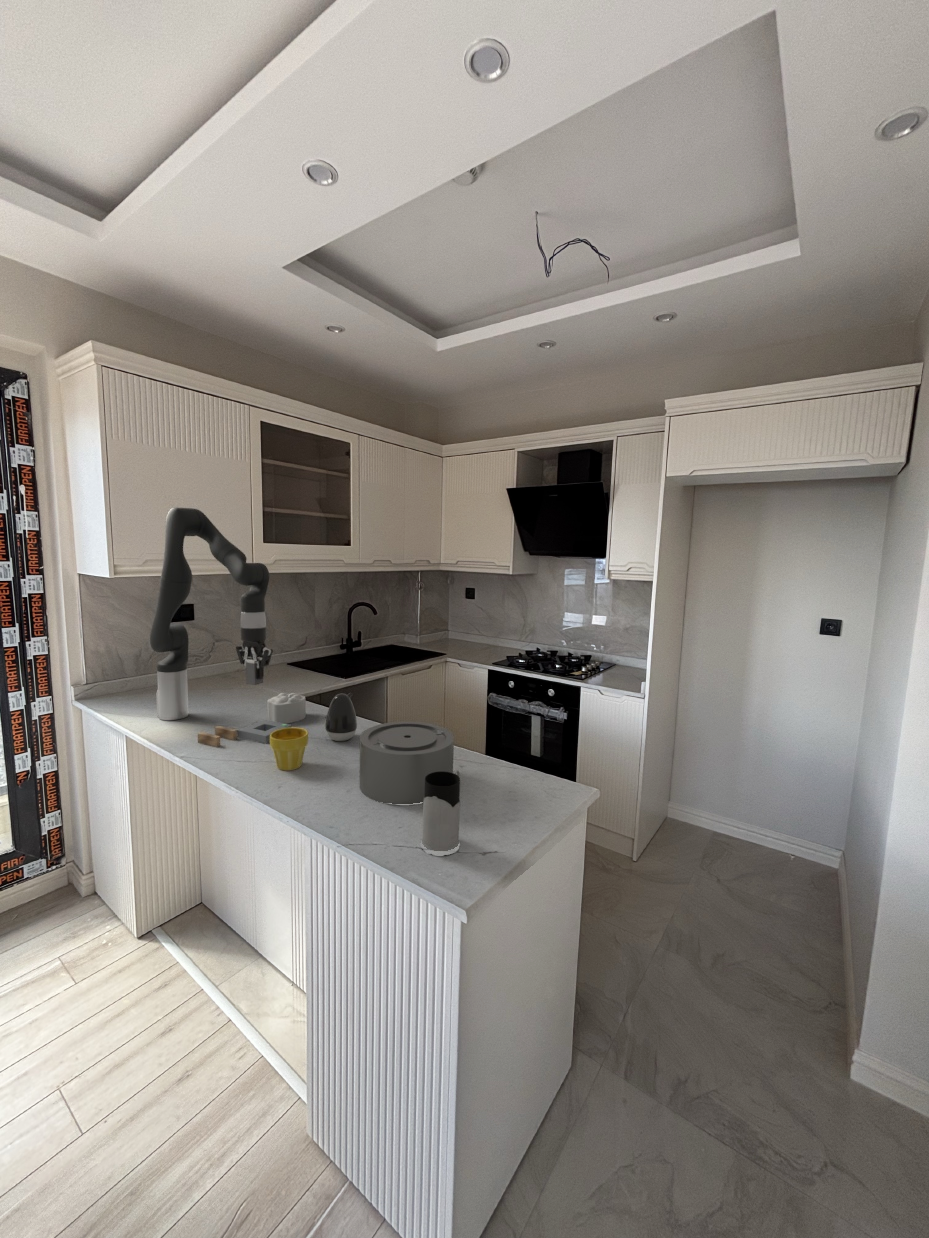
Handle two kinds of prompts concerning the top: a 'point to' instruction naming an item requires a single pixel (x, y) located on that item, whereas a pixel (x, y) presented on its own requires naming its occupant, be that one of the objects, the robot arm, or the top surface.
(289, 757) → the plant pot
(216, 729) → the pair of wooden planks
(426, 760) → the container
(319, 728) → the top surface
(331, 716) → the dark grey egg shape
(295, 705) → the white lumpy box
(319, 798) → the top surface
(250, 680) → the plug
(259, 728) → the port
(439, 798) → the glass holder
